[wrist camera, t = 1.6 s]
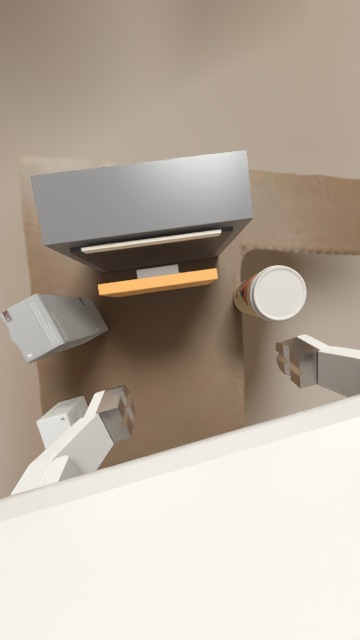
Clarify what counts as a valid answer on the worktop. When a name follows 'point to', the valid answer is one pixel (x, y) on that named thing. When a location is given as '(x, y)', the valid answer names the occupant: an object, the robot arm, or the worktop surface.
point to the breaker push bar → (158, 281)
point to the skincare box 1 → (52, 324)
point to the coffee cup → (272, 294)
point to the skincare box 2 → (61, 419)
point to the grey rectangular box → (145, 210)
